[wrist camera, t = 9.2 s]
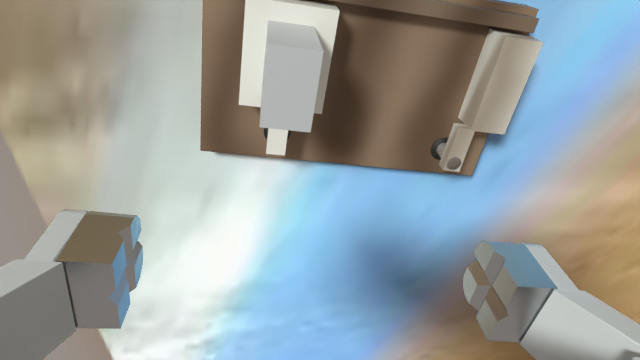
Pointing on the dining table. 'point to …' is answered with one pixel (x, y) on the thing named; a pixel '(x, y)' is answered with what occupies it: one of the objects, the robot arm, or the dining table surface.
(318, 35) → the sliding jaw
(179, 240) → the dining table surface
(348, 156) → the brown board with blocks
